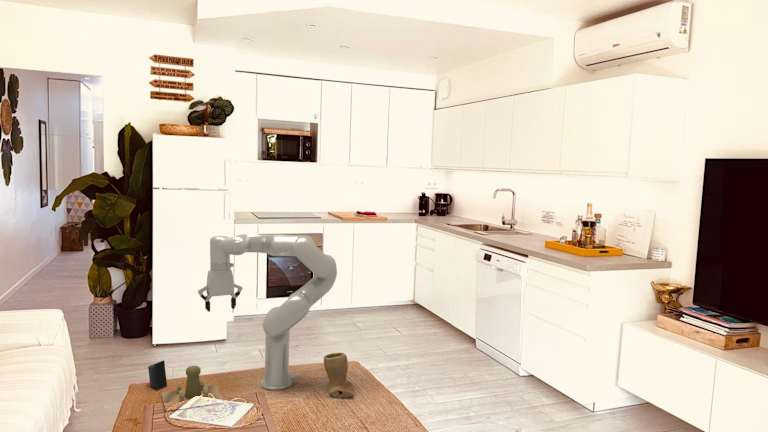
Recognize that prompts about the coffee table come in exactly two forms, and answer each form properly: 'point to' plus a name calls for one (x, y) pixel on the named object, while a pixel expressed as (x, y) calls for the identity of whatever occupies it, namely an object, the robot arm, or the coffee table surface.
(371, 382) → the coffee table surface
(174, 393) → the pin holder
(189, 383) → the cork
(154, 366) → the speaker
